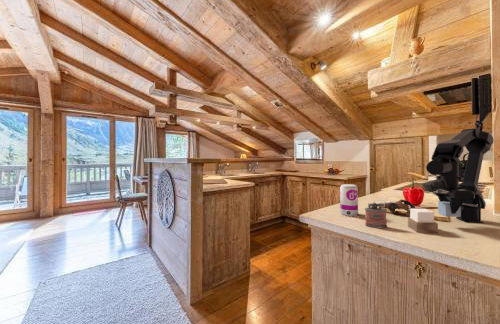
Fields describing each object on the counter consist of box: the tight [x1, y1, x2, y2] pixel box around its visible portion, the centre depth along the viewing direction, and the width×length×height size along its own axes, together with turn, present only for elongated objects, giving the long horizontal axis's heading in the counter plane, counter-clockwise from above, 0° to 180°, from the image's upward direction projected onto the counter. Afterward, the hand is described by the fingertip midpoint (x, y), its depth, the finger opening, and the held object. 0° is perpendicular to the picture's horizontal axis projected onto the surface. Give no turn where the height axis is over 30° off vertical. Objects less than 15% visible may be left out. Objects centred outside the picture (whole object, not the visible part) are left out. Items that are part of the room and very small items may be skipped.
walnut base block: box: [407, 217, 439, 234], centre depth 87 cm, size 7×7×4 cm
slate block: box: [437, 200, 461, 218], centre depth 89 cm, size 5×5×5 cm
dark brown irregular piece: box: [386, 198, 416, 218], centre depth 109 cm, size 12×10×8 cm
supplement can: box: [339, 183, 359, 217], centre depth 112 cm, size 8×8×15 cm
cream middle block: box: [409, 208, 435, 223], centre depth 87 cm, size 6×6×4 cm
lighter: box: [364, 201, 388, 229], centre depth 93 cm, size 8×3×10 cm, turn 70°
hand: (449, 211), depth 89 cm, fingers closed on slate block, 5 cm apart
